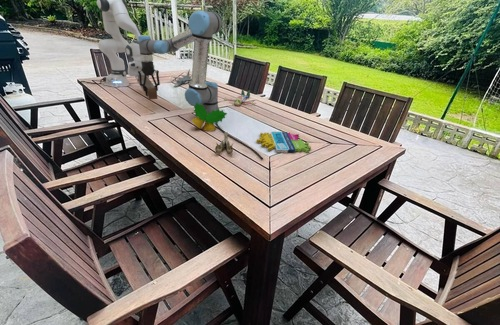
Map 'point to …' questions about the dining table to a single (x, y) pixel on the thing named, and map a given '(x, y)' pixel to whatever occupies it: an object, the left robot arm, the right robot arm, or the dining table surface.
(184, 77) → the airplane
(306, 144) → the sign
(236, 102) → the toy
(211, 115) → the ornament
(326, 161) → the dining table surface
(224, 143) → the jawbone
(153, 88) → the post
